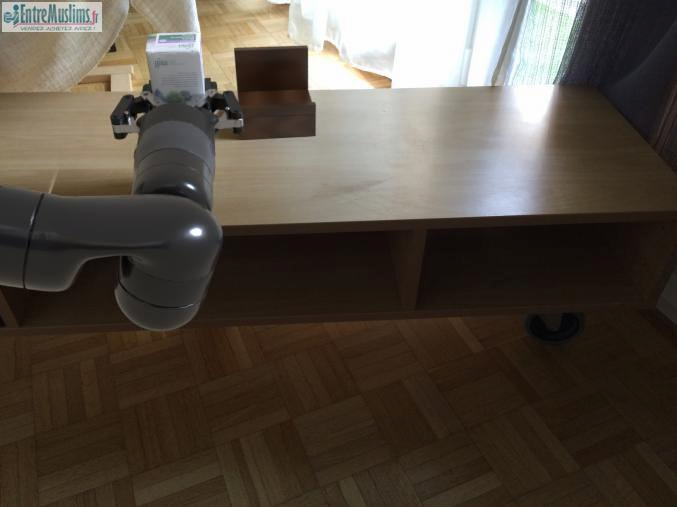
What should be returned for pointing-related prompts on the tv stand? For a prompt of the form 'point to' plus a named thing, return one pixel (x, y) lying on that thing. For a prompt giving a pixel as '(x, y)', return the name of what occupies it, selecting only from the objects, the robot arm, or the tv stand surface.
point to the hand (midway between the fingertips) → (181, 86)
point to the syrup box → (175, 66)
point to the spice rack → (274, 92)
